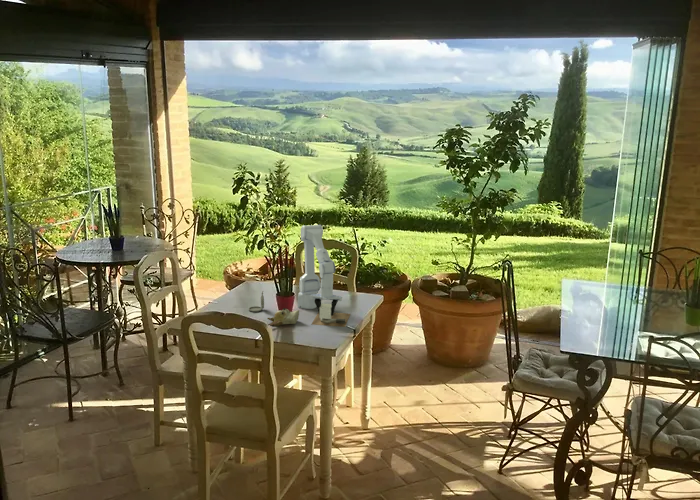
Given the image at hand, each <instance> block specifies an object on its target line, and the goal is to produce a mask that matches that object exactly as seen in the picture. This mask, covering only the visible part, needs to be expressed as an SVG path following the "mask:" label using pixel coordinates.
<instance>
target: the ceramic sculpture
mask: <svg viewBox="0 0 700 500" xmlns="http://www.w3.org/2000/svg"><path fill="white" fill-rule="evenodd" d="M299 316H300V310H299V309H297V310H294V311H290V309H288V308H286V307H282V309H281V310H276V312H275V313H274V315H273V317H267V320H268V321H270V323H269V324H267V326H269V325H270V326H269V327H278V326H282V325H296V324H297V322H298V320H299Z"/></svg>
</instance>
